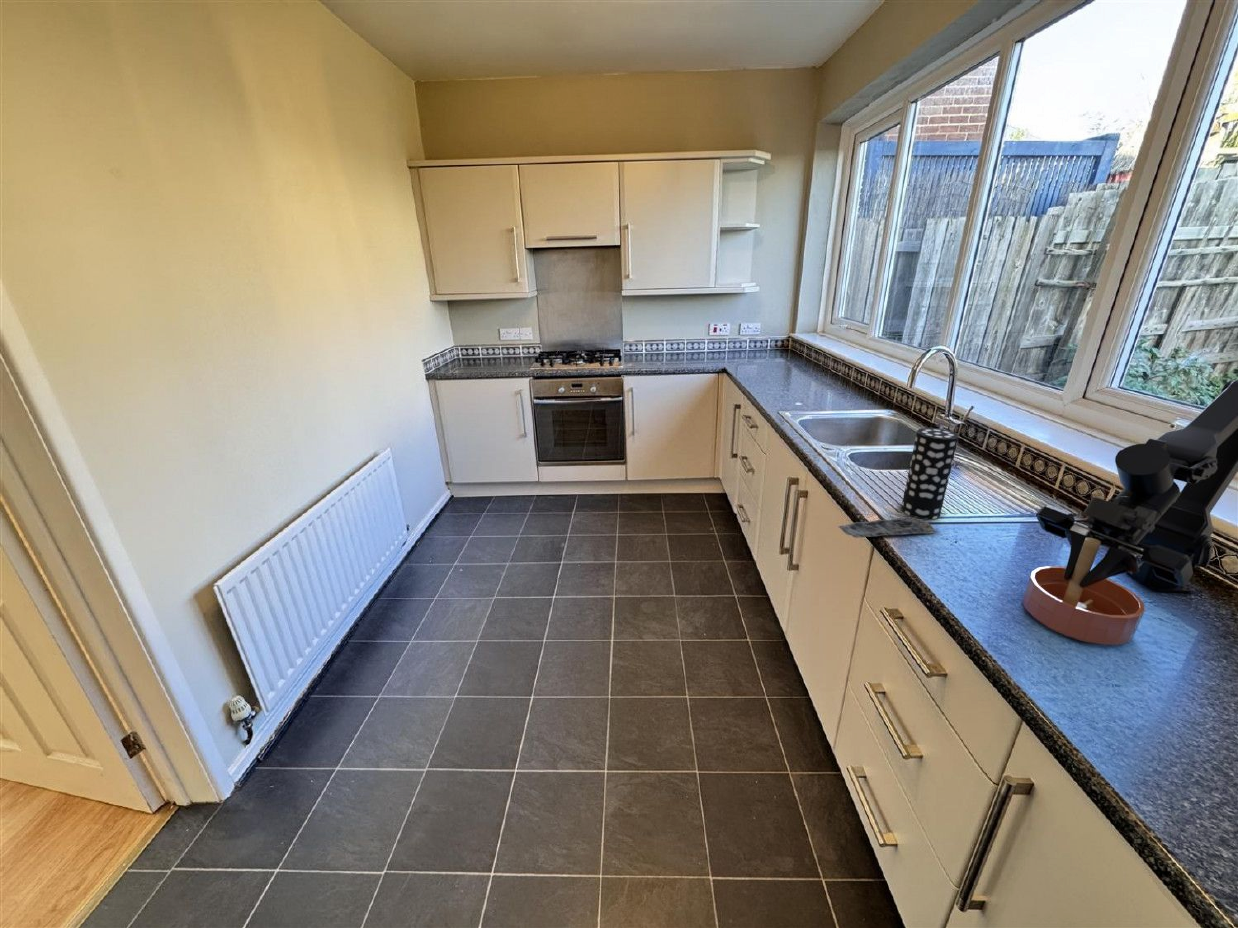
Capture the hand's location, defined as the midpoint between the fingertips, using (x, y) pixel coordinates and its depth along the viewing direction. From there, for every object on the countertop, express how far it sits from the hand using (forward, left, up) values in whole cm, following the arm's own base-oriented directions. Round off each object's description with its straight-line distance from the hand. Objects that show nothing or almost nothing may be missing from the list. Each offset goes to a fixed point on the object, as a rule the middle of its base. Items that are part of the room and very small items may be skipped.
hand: (1072, 582), depth 81 cm
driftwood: (+14, -33, -9) cm, 37 cm away
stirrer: (-5, -3, -8) cm, 9 cm away
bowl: (-5, -3, -9) cm, 11 cm away
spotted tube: (+2, -43, -9) cm, 44 cm away
